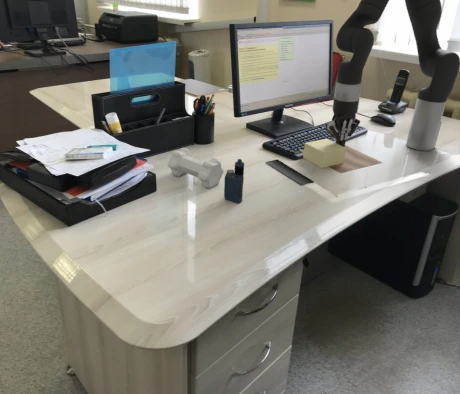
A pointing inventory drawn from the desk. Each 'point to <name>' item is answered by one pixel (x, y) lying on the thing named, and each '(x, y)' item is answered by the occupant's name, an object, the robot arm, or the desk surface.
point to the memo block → (324, 153)
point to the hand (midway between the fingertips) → (339, 149)
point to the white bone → (196, 167)
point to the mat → (289, 172)
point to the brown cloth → (353, 161)
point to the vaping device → (234, 183)
